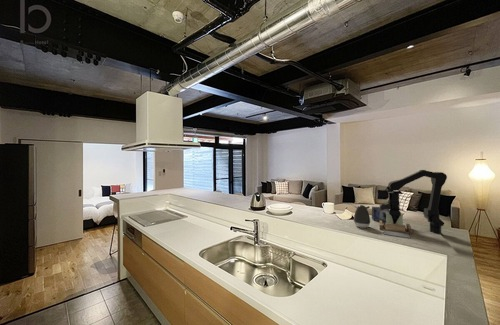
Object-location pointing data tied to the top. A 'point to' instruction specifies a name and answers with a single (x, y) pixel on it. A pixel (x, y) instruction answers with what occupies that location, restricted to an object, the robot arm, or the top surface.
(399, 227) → the offcut bundle
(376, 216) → the small box
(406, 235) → the grey mat
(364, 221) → the dark grey egg figure
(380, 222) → the walnut rack
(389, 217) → the pale green block
